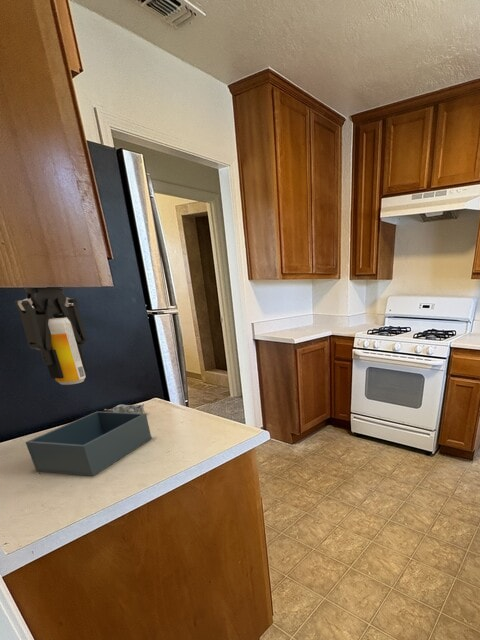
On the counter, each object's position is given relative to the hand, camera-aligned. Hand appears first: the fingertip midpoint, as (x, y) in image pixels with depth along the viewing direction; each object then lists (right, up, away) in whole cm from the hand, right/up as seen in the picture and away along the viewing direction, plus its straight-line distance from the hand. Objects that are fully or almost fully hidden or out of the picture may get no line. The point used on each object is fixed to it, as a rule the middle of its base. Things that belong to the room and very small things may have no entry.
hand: (69, 374), depth 85 cm
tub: (+3, -20, +7) cm, 21 cm away
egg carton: (-4, -9, +33) cm, 34 cm away
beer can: (0, -2, +1) cm, 2 cm away
